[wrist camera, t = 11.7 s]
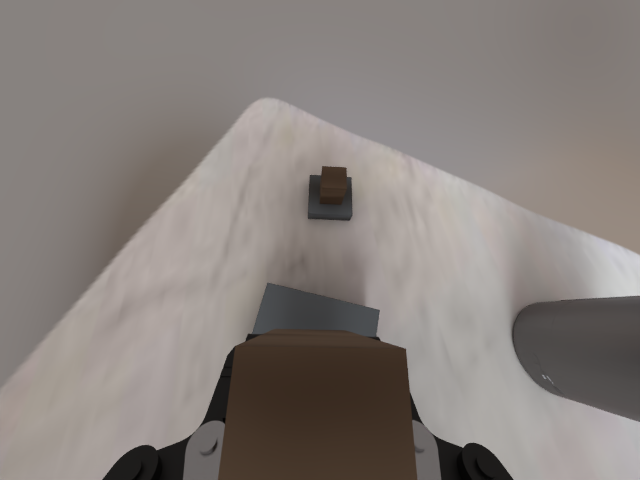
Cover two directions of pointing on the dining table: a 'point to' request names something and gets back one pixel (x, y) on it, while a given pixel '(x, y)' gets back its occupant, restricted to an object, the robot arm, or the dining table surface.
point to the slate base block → (312, 313)
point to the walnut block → (318, 409)
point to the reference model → (330, 195)
